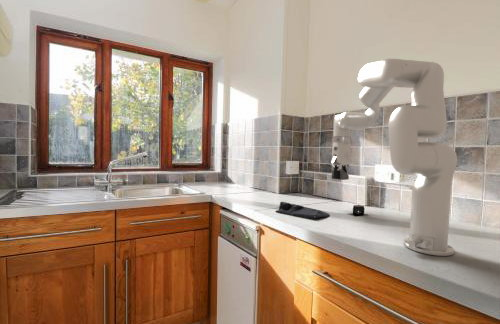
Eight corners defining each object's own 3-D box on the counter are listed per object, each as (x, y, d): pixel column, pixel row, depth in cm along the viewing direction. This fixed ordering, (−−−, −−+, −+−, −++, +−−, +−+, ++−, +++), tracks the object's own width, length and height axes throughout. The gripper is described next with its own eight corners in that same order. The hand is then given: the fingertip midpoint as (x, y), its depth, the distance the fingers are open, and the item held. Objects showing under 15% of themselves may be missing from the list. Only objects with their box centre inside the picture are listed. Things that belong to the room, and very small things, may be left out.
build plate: (362, 212, 128) (362, 203, 128) (375, 216, 121) (375, 206, 121) (342, 214, 123) (342, 205, 123) (354, 218, 116) (355, 208, 116)
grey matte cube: (343, 179, 125) (343, 170, 125) (331, 178, 130) (332, 169, 130) (348, 179, 129) (349, 169, 128) (337, 178, 133) (337, 168, 133)
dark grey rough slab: (313, 222, 108) (313, 211, 108) (272, 212, 124) (272, 202, 123) (332, 216, 118) (333, 206, 118) (292, 208, 134) (293, 198, 134)
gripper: (338, 139, 120) (337, 180, 121) (358, 141, 131) (356, 178, 132) (324, 140, 126) (323, 178, 127) (344, 141, 137) (342, 176, 138)
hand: (340, 178), depth 129 cm, fingers closed on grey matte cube, 5 cm apart
